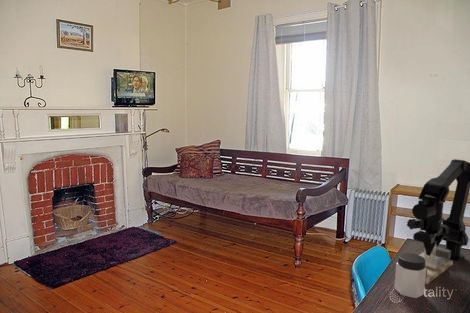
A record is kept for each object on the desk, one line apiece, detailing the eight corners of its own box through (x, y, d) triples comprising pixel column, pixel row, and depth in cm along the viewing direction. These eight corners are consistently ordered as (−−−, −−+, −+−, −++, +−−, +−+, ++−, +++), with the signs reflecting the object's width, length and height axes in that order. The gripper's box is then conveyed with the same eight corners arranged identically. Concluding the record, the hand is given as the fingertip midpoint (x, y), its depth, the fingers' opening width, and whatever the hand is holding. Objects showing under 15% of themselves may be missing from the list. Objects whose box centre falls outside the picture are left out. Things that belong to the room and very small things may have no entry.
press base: (425, 256, 148) (426, 243, 147) (452, 264, 140) (453, 251, 139) (398, 273, 132) (400, 259, 131) (427, 284, 125) (428, 269, 124)
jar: (413, 301, 114) (416, 265, 112) (389, 290, 121) (392, 256, 119) (428, 293, 119) (431, 259, 117) (405, 282, 126) (407, 250, 124)
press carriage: (422, 256, 143) (424, 235, 142) (444, 263, 137) (446, 241, 136) (413, 262, 138) (415, 240, 136) (436, 269, 132) (438, 246, 130)
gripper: (421, 205, 146) (418, 242, 149) (400, 214, 134) (397, 253, 137) (451, 212, 138) (447, 250, 140) (432, 222, 126) (428, 263, 128)
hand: (429, 254), depth 137 cm, fingers closed on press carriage, 3 cm apart
